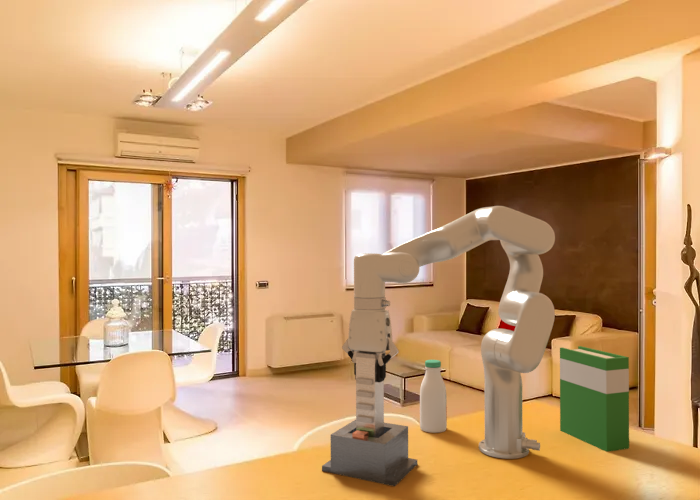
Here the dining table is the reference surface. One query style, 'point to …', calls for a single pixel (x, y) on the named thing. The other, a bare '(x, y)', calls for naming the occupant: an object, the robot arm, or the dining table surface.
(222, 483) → the dining table surface
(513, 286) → the robot arm
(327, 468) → the housing
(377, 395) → the column
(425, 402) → the milk bottle
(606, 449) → the hardback book
